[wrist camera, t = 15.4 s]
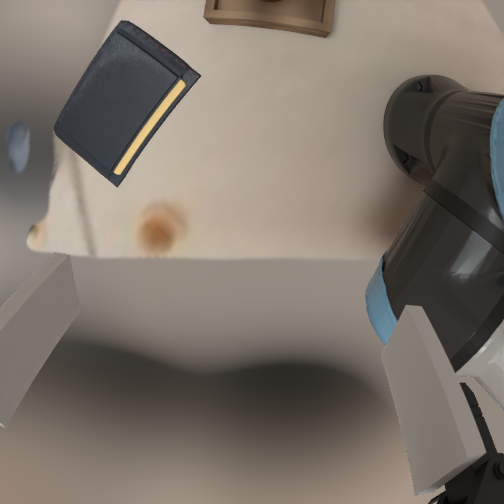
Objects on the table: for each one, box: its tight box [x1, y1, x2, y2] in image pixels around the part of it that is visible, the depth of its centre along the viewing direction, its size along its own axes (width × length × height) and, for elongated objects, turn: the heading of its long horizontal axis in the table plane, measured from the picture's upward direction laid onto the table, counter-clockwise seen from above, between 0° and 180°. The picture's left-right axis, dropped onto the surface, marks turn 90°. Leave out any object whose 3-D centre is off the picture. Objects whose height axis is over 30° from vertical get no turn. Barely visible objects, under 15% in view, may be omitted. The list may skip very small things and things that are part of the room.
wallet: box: [54, 20, 201, 187], centre depth 36 cm, size 20×2×15 cm
